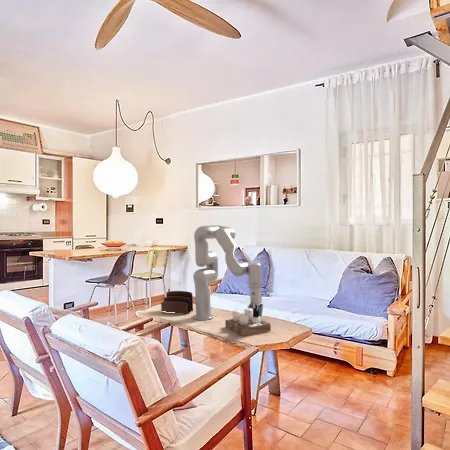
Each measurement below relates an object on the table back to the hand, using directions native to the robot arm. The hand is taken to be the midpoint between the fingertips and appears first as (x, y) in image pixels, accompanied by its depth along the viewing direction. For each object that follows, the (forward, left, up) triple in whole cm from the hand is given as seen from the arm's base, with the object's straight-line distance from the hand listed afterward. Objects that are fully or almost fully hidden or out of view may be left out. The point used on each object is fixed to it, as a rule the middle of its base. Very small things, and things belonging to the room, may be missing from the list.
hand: (256, 316), depth 198 cm
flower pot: (-16, +10, -7) cm, 20 cm away
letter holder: (-61, -26, -7) cm, 67 cm away
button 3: (-8, 0, -3) cm, 9 cm away
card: (+5, -4, -3) cm, 7 cm away
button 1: (-8, -8, -3) cm, 12 cm away
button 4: (0, 0, -6) cm, 6 cm away
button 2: (0, -8, -3) cm, 9 cm away
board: (-3, -4, -7) cm, 9 cm away
